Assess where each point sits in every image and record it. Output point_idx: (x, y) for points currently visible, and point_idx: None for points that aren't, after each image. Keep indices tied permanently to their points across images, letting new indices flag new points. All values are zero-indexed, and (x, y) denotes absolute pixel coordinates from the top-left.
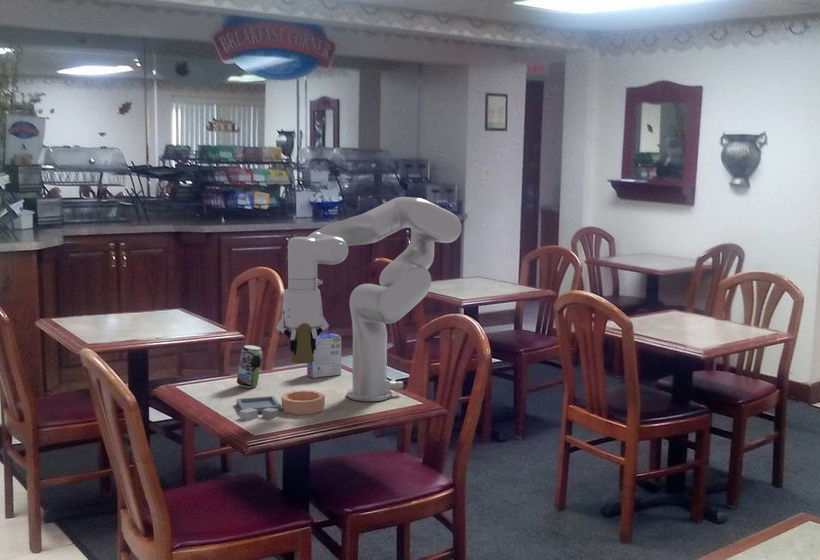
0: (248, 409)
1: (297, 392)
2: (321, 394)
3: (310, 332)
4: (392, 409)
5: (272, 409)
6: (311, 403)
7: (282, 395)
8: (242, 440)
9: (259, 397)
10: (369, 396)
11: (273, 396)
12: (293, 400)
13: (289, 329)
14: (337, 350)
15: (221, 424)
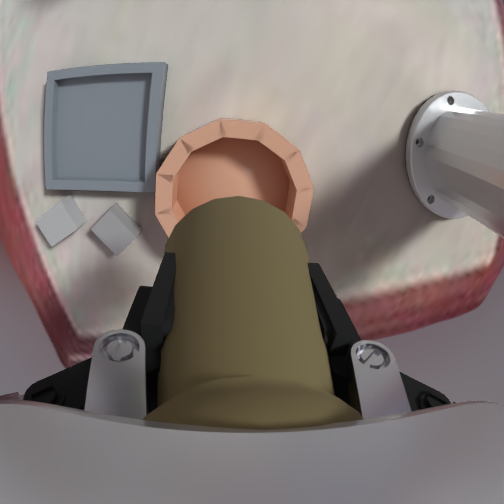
0: (55, 217)
1: (232, 137)
2: (303, 206)
3: (350, 393)
4: (430, 282)
5: (118, 233)
6: None
7: (162, 164)
8: (59, 349)
9: (113, 69)
10: (441, 199)
11: (161, 70)
12: None
13: (87, 410)
14: None
15: (13, 244)
